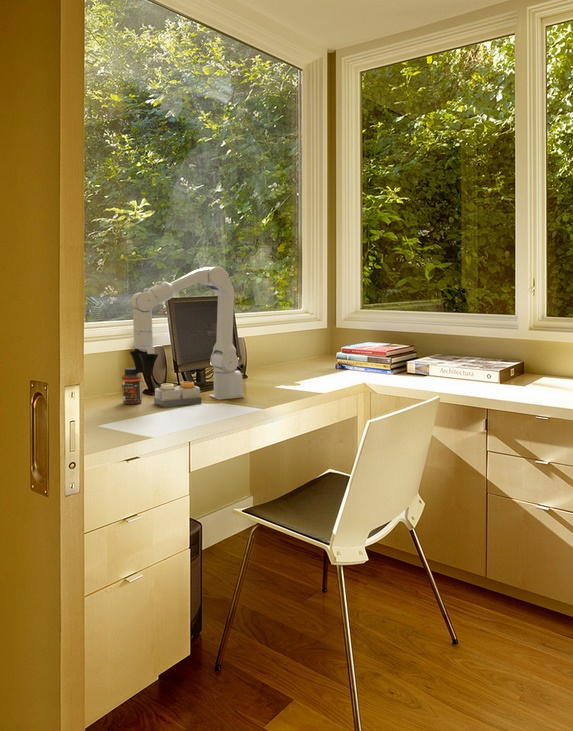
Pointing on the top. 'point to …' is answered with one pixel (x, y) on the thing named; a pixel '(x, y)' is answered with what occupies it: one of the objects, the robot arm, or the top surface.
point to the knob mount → (177, 397)
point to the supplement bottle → (131, 387)
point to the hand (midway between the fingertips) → (144, 374)
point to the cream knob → (167, 386)
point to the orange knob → (187, 385)
